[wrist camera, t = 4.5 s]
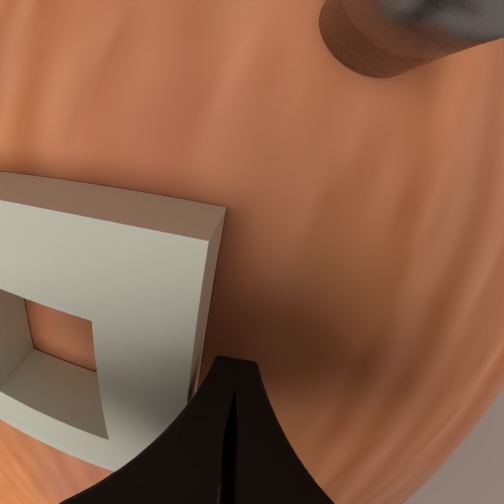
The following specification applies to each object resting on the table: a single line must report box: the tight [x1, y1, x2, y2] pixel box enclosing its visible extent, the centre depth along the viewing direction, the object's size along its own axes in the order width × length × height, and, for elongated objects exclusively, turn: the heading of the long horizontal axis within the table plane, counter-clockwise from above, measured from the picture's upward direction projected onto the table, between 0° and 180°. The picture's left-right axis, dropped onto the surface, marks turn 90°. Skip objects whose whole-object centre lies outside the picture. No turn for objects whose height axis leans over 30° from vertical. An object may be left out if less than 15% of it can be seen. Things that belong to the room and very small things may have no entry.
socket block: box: [0, 172, 226, 472], centre depth 9 cm, size 10×10×3 cm
